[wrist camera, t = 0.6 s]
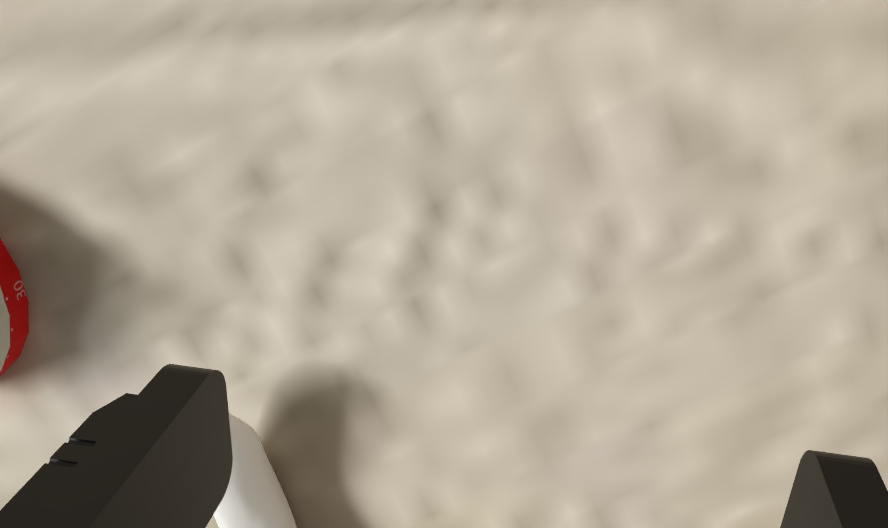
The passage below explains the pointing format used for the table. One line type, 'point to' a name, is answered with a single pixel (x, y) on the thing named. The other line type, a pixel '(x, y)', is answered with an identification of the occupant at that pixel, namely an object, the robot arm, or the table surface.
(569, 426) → the table surface
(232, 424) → the banana
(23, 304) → the kitchen timer
